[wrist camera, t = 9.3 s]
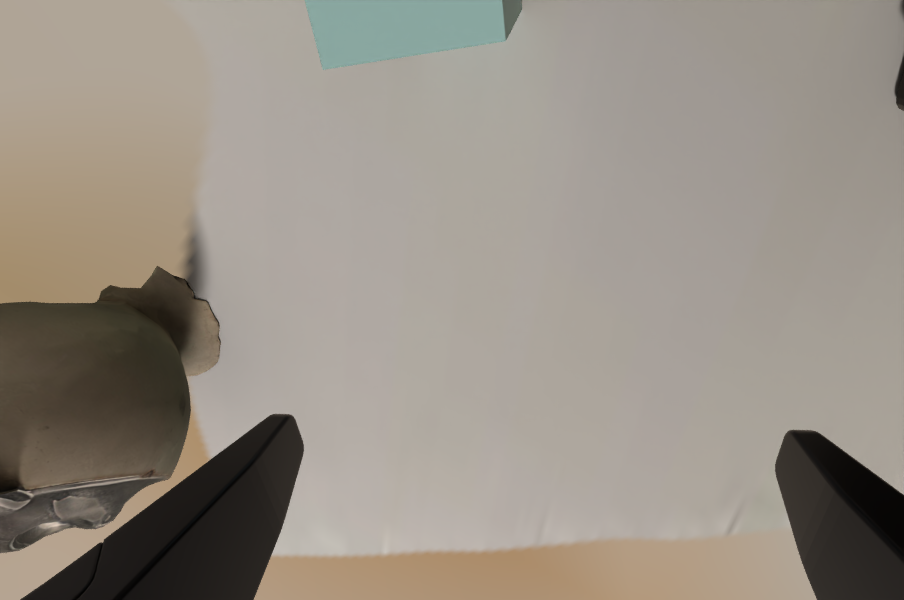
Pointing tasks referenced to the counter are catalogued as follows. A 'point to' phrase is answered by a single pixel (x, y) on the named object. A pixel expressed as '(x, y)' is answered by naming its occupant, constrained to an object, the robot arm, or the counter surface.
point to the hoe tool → (405, 27)
